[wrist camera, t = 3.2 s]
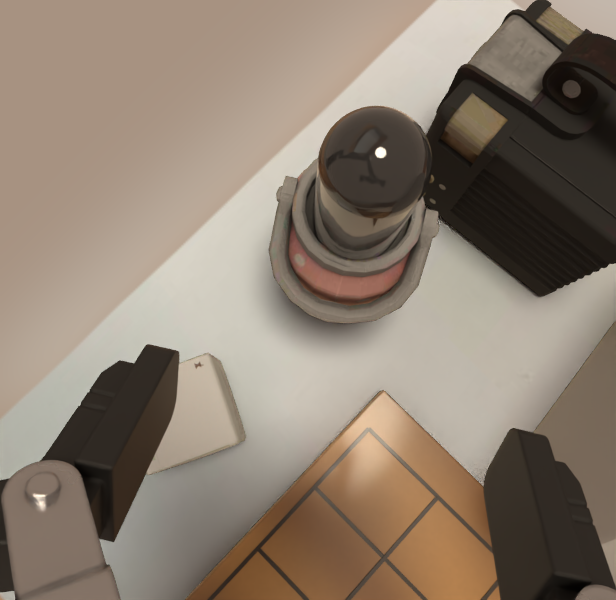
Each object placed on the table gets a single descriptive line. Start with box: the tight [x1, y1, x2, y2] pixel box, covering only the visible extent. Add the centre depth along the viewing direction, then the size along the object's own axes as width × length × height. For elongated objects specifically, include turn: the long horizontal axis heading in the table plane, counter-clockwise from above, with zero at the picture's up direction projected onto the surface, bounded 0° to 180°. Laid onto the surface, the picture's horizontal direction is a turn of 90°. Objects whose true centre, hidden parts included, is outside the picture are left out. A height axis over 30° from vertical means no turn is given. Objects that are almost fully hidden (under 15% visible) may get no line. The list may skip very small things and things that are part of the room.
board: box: [185, 390, 501, 600], centre depth 34 cm, size 20×14×1 cm
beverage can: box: [269, 158, 439, 323], centre depth 33 cm, size 9×8×12 cm
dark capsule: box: [312, 106, 433, 260], centre depth 23 cm, size 4×4×8 cm
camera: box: [423, 0, 616, 296], centre depth 33 cm, size 11×14×15 cm
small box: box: [146, 353, 246, 475], centre depth 34 cm, size 6×6×5 cm
